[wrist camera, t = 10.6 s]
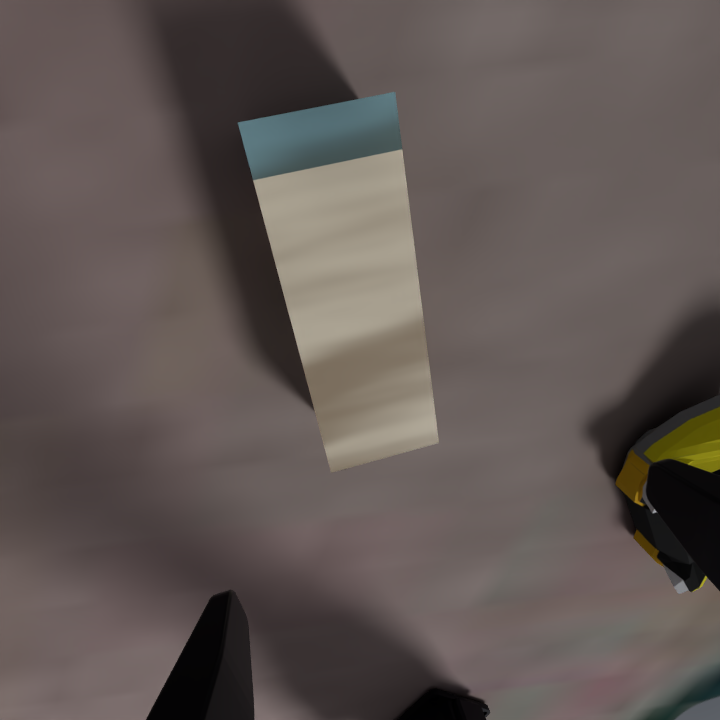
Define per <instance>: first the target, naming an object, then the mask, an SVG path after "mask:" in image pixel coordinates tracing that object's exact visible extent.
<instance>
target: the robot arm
mask: <svg viewBox="0 0 720 720" xmlns="http://www.w3.org/2000/svg"><path fill="white" fill-rule="evenodd" d="M646 496H647V499H648V501H649V502H650V504H651V505H652V507H653V508H654V509H655V511H656V512H657V513H658V515H659V516H660V517H661V519H662V520H663V521H664V523H665V524H666V525H667V527H668V528H669V529H670V531H671V532H672V533H673V535H674V536H675V537H676V539H677V540H678V541H679V543H680V544H681V545H682V547H683V548H684V549H685V551H686V552H687V553H688V555H689V556H690V557H691V558H692V560H693V561H694V562H695V563H696V565H697V566H698V567H699V568H700V569H701V571H702V572H703V573H704V574H705V575H706V576H707V578H708V579H709V580H710V581H711V582H712V583H713V584H714V585H715V586H716V588H717V589H718V590H719V591H720V476H719V475H716V474H714V473H711V472H708V471H705V470H702V469H699V468H697V467H694V466H691V465H688V464H685V463H683V462H680V461H677V460H674V459H664V460H660V461H657V462H654V463H652V464H651V465H650V466H649V469H648V476H647V484H646ZM489 714H490V710H489V708H488V705H486V704H483V703H480V702H477V701H474V700H470V699H467V698H464V697H461V696H458V695H455V694H451V693H448V692H445V691H442V690H439V689H432V690H430V691H429V692H428V693H426V694H425V695H424V696H423V697H422V698H421V699H420V700H419V701H418V702H417V703H416V704H414V705H413V706H412V707H411V708H410V709H409V710H408V711H407V712H406V713H405V714H404V715H403V716H401V717H400V718H399V719H398V720H486V718H485V717H487V716H488V715H489ZM146 720H254V697H253V683H252V669H251V655H250V641H249V627H248V621H247V617H246V614H245V612H244V610H243V608H242V605H241V603H240V601H239V599H238V597H237V595H236V593H235V592H234V591H233V590H228V591H225V592H222V593H218V594H215V595H213V596H212V597H211V598H210V600H209V602H208V604H207V606H206V607H205V609H204V611H203V613H202V615H201V617H200V619H199V621H198V622H197V624H196V626H195V628H194V630H193V632H192V634H191V636H190V638H189V639H188V641H187V643H186V645H185V647H184V649H183V651H182V653H181V655H180V656H179V658H178V660H177V662H176V664H175V666H174V668H173V670H172V671H171V673H170V675H169V677H168V679H167V681H166V683H165V685H164V687H163V688H162V690H161V692H160V694H159V696H158V698H157V700H156V702H155V703H154V705H153V707H152V709H151V711H150V713H149V715H148V717H147V719H146Z"/></svg>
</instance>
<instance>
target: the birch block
mask: <svg viewBox="0 0 720 720" xmlns="http://www.w3.org/2000/svg"><path fill="white" fill-rule="evenodd" d="M238 125H239V129H240V133H241V137H242V140H243V144H244V148H245V152H246V155H247V159H248V163H249V167H250V170H251V174H252V178H253V182H254V185H255V189H256V193H257V197H258V200H259V204H260V208H261V211H262V215H263V219H264V223H265V226H266V230H267V234H268V238H269V241H270V245H271V249H272V253H273V256H274V260H275V264H276V268H277V271H278V275H279V279H280V283H281V286H282V290H283V294H284V298H285V301H286V305H287V309H288V313H289V316H290V320H291V324H292V328H293V331H294V335H295V339H296V343H297V346H298V350H299V354H300V358H301V361H302V365H303V369H304V372H305V376H306V380H307V384H308V387H309V391H310V395H311V399H312V402H313V406H314V410H315V414H316V417H317V421H318V425H319V429H320V432H321V436H322V440H323V444H324V447H325V451H326V455H327V459H328V462H329V466H330V470H331V473H332V472H336V471H339V470H343V469H346V468H350V467H354V466H357V465H361V464H365V463H368V462H372V461H375V460H379V459H383V458H386V457H390V456H393V455H397V454H401V453H404V452H408V451H411V450H415V449H419V448H422V447H426V446H429V445H433V444H437V443H439V440H438V432H437V424H436V416H435V408H434V400H433V392H432V384H431V376H430V368H429V360H428V352H427V344H426V336H425V328H424V320H423V312H422V304H421V296H420V288H419V280H418V272H417V264H416V256H415V248H414V240H413V232H412V224H411V216H410V208H409V200H408V192H407V184H406V176H405V168H404V160H403V152H402V144H401V136H400V128H399V120H398V112H397V104H396V96H395V92H392V93H387V94H382V95H377V96H372V97H367V98H361V99H356V100H351V101H346V102H341V103H336V104H331V105H326V106H320V107H315V108H310V109H305V110H300V111H295V112H290V113H284V114H279V115H274V116H269V117H264V118H259V119H254V120H248V121H243V122H238Z"/></svg>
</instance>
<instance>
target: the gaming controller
mask: <svg viewBox="0 0 720 720" xmlns="http://www.w3.org/2000/svg"><path fill="white" fill-rule="evenodd" d="M664 459H674V460H677V461H680V462H683V463H685V464H688V465H691V466H694V467H697V468H699V469H702V470H705V471H708V472H711V473H714V474H716V475H719V476H720V394H719V395H717V396H715V397H713V398H711V399H708V400H706V401H704V402H702V403H699V404H697V405H695V406H693V407H690V408H688V409H686V410H684V411H682V412H679V413H678V414H676V415H675V416H673V417H672V418H670V419H669V420H668V421H666V422H665V423H663V424H661V425H660V426H658V427H657V428H655V429H650V430H648V431H647V432H646V433H645V434H644V435H643V436H642V437H640V438H639V439H638V440H637V441H636V444H635V445H634V446H633V447H632V448H631V449H630V450H629V451H628V453H627V456H626V459H625V462H624V465H623V468H622V471H621V473H620V474H619V476H618V478H617V481H616V484H615V485H616V486H617V487H618V488H620V489H621V490H622V491H623V492H624V494H625V497H626V500H627V503H628V506H629V509H630V512H631V515H632V518H633V521H634V525H635V528H636V529H637V530H636V533H635V535H634V539H635V540H636V541H637V542H638V543H639V545H640V546H641V547H642V548H643V549H644V550H645V551H646V552H647V553H648V554H649V555H650V556H651V557H652V558H653V559H654V560H655V561H656V562H657V563H658V564H660V565H661V566H663V567H664V568H665V570H666V572H667V574H668V576H669V578H670V580H671V582H672V584H673V586H674V588H675V589H676V591H677V592H678V594H680V593H683V592H686V591H688V590H689V591H690V592H693V591H695V590H697V589H699V588H700V587H702V586H703V584H704V582H705V581H706V579H707V576H706V575H705V574H704V573H703V572H702V571H701V569H700V568H699V567H698V566H697V565H696V563H695V562H694V561H693V560H692V558H691V557H690V556H689V555H688V553H687V552H686V551H685V549H684V548H683V547H682V545H681V544H680V543H679V541H678V540H677V539H676V537H675V536H674V535H673V533H672V532H671V531H670V529H669V528H668V527H667V525H666V524H665V523H664V521H663V520H662V519H661V517H660V516H659V515H658V513H657V512H656V511H655V509H654V508H653V507H652V505H651V504H650V502H649V501H648V499H647V496H646V484H647V476H648V469H649V466H650V465H651V464H652V463H654V462H657V461H660V460H664Z"/></svg>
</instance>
